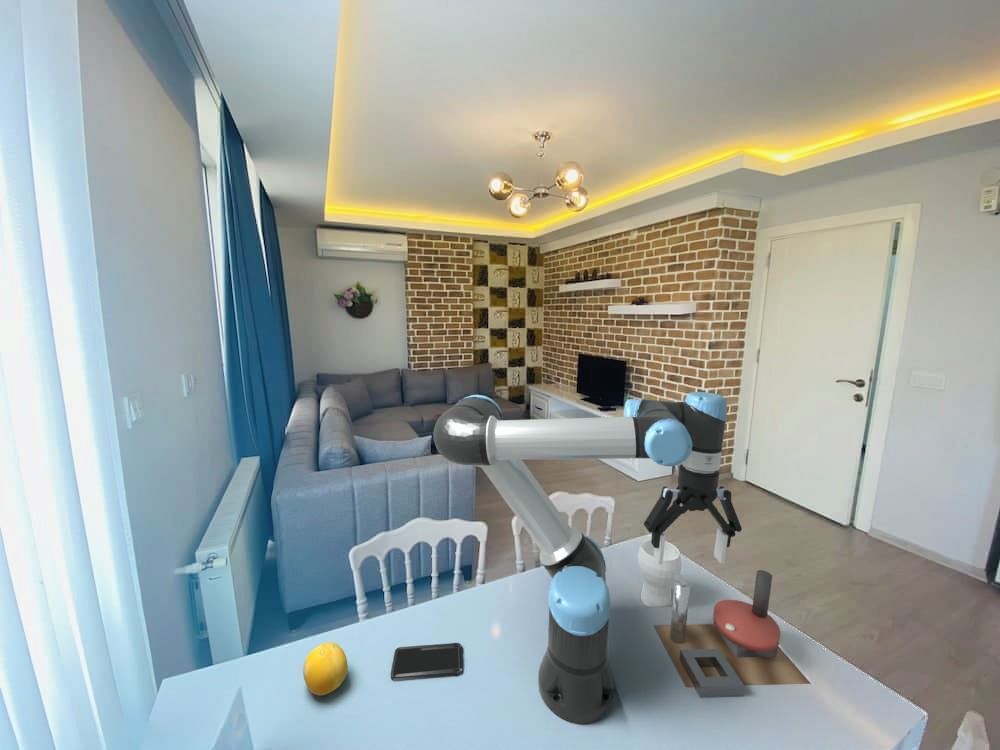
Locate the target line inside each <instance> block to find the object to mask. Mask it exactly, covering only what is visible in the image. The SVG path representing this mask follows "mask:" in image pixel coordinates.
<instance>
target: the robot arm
mask: <svg viewBox="0 0 1000 750" xmlns="http://www.w3.org/2000/svg"><path fill="white" fill-rule="evenodd" d="M623 408H624V409H623V416H607V417H604V416H603V417H574V418H573V417H572V418H571V417H568V418H567V417H566V418H541V419H540V418H539V419H535V418H534V419H507V420H504V417H503V413H502V410H501V408H500V406H499V404H498V403H497V402H496V401H495V400H493V398H490V397H488V396H487V395H481V394H471V395H469V396H466V397H464V398H462V399H460V400H458V401H457V402H456V403H455V404H454V405H453V406H451V407H450V408H449V409H447V410H445V411H444V412H443V413H442V414H441V415H440V416H439V417H438V418H437V420H436V423H435V425H434V427H433V435H432V436H433V442H434V445H435V447H436V450H437V452H439V454H440V455H441V456H442V457H443V458H444V459H446V460H447V461H449V462H451V463H454V464H457V465H462V466H472V467H478V468H481V469H482V470H483V472H484V473H485V474H486V477H488V479H489V480H490V481H491V483H492V484H493V486H494V487H495V489H496V490H497V491H498V492H499V494H500V495H501V497H502V499H503V500H504V501H505V502H506V504H507V505H508V506H509V508H510V510H511V511H512V513H514V515H515V516H516V518H517V519H518V521H519V522H520V523H521V525H522V526H523V528H524V529H525V530H526V532H527V533H528V535H529V536H530V537H531V539H532V540H533V541H534V543H535V544H536V546H537V547H538V549H539V550H540V555H539V561H540V563H541V564H542V565H543V567H544V569H545V570H546V571H547V573H548V575H549V576H550V577H551V582H550V587H549V589H548V590H549V591H548V594H547V595H548V599H547V600H548V632H547V633H548V635H547V648H546V651H545V653H544V655H543V657H542V660H541V662H540V665H539V669H538V679H537V681H538V683H537V684H538V692H539V694H540V696H541V699H542V701H543V702H544V704H545V705H546V707H548V709H549V710H550V711H551V712H553V714H554V715H557V716H558V717H559V718H561V719H562V720H565V721H568V722H571V723H575V724H581V725H582V724H592V723H594V722H598V721H600V720H601V719H602V718H604V717H606V715H607V714H608V713H609V712H610V710H611V709H612V705H613V702H614V693H615V691H614V690H615V687H614V686H615V685H614V679H613V676H612V671H611V668H610V666H609V663H608V658H607V656H608V653H607V652H608V636H609V617H610V612H611V602H612V601H611V597H610V591H609V587H608V585H607V580H606V579H607V578H606V576H607V575H606V571H607V568H606V560H605V557H604V554H603V552H602V549H601V547H600V546H599V545H598V543H597V542H596V541H595V540H594V539H592V538H591V537H589V536H587V535H584V533H583V532H582V531H581V529H579V528H577V527H570V525H569V524H568V522H567V521H566V519H565V517H563V515H562V514H561V512H560V511H559V510H558V509H557V507H556V505H555V504H554V502H553V501H552V500H551V499H550V497H549V496H548V494H547V493H546V491H545V490H544V489H543V488H542V486H541V485H540V483H539V481H538V480H537V479H536V477H534V476H535V475H533V474H532V472H531V471H530V469H529V467H528V466H527V465H526V463H525V462H524V460H529V461H530V460H599V459H601V460H604V459H605V460H606V459H607V460H608V459H609V460H610V459H613V460H614V459H621V460H622V459H650V460H652V461H653V462H654V463H656V464H658V465H660V466H662V467H663V466H664V467H676V466H678V475H677V483H678V484H677V487H676V489H675V488H669V487H668V486H666V485H665V486H662V488H661V492H660V493H661V494H660V497H659V498H658V500H657V501H656V503H655V504H654V506H653V508H652V509H651V511H650V513H649V514H648V516H647V517H646V519H645V520H644V522H643V526H644V527H645V528H646V530H647V531H648V532H649V533H651V539H652V540H651V543H652V545H653V546H654V558H655V559H656V561H657V562H658V564H662V563H663V554H664V544H665V541H666V535H665V534H664V532H665V531H667V529H668V528H669V527H670V526H671V525H672V524H673V523H674V522H675V521H676V520H677V519H678V518H679V517H680V516H681V515H682V514H683V515H684V514H686V513H687V511H689V512H694V511H698V512H699V511H700V512H704V511H705V510H707V511H708V512H709V513H710V515H711V516H712V517H713V519H714V520H715V521H716V523H717V524H718V525H719V526H720V528H717V529H716V536H715V542H714V543H715V545H714V549H713V550H714V553H713V557H714V558H715V559H716V560H717V561H718V562H719V563H720V564H725V562H726V554H727V548H730V546H731V539H732V538H734V537H736V532H737V533H740V532H741V531H742V530H743V527H742V526H741V523H740V520H739V517H738V515H737V513H736V510H735V507H734V503H732V492H731V491H730V490H729V489H727V488H726V487H725V486H723V485H721V486H719V481H720V472H719V470H720V469H721V461H722V455H723V453H722V452H723V444H724V437H725V430H726V425H727V421H728V418H727V416H728V414H727V413H728V401H727V399H726V398H725V397H723V396H722V395H720V394H717V393H712V392H708V391H705V392H704V391H691V392H689V393H687V394H686V398H685V400H684V401H669V400H668V401H667V400H655V399H646V398H630V399H627V400H626V401H625V404H624V406H623ZM718 487H719V488H718ZM675 497H676V498H675ZM717 498H718V499H719V501H720V505H721V506H722V509H723V512H724V514H725V516H726V519H727V521H726V520H725V518H724V517H723V516H722V514H721V513H720V511H719V510H718V509H717V507H716V506H715V504H714V501H715V500H716V499H717ZM671 503H672V504H671Z"/></svg>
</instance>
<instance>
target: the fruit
mask: <svg viewBox="0 0 1000 750" xmlns="http://www.w3.org/2000/svg"><path fill="white" fill-rule="evenodd" d="M348 666H349V665H348V659H347V656H346V653H345V651H344V650H343V648H342V647H341V646H340V645H339V644H338V643H336V642H330V641H329V642H324V643H322V644H320V645H318V646H316V647H315V648H313V649H312V650H311V651H310V652H308V655H307V656H306V658H305V660H304V663H303V668H302V670H303V671H302V675H303V680H304V683H305V685H306V687H307V688H308V690H309V691H310V692H311V693H312V694H314V695H317V696H325V695H328V694H330V693H331V692H333V691H335V690H337V689H338V688H340V686H341V685H342V683H343V682H344V680H345V678H346V676H347V673H348Z"/></svg>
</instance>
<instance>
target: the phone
mask: <svg viewBox="0 0 1000 750" xmlns="http://www.w3.org/2000/svg"><path fill="white" fill-rule="evenodd" d="M393 653H394V654H393V659H392V665H391V668H390V669H391V670H390V679H391V681H393V682H401V681H414V680H425V679H426V680H427V679H436V678H450V677H459V676H460V675H462V673H463V645H462V643H460V642H452V643H451V642H450V643H435V644H426V645H425V644H424V645H410V646H409V645H408V646H399V647H397V648H396V649H394V652H393Z"/></svg>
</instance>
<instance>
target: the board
mask: <svg viewBox="0 0 1000 750" xmlns="http://www.w3.org/2000/svg"><path fill="white" fill-rule="evenodd" d="M653 627H654V630H655V631H656V633H657V635H658V638H659V639H660V641H661V643H662V645H663V647H664V649H665V650H666V652H667V654H668V657H669V658H670V660H671V662H672V664H673V665H674V667H675V670H676V671H677V673H678V675H679V677H680V678H681V679H680V680H682V683H683V684H684V686H685V688H695V687H694V686H693V684H692V682H691V680H690V678H689V676H688V675H687V673H686V671H685V669H684V667H683V666H682V664H681V662H680V660H679V658H680V650H689V649H720V651H721V652H722V654H723V655H724V657H725V658H726V659H727V661H728V662H729V664H730V665H731V667H732V668H733V670H734V671H735V673H736V674H737V676H738V677H739V678H740V680H741V681H742V683H743V684H744V686H775V685H776V686H777V685H778V686H779V685H809V684H810V685H811V682H810V681H809V680H808V678H807V677H806V676H805V674H804V673H803V672H802V671H801V670H800V669H799V668H798V667H797V665H795V663H794V662H793V661H792V660H791V659H790V657H789V656H788V655H787V653H785V651H784V650H783V649H782V648H781V647H780V646H779V645H778V646H777V648H775V649H774V650H771V651H766V652H761V651H754V650H750V649H747V648H744V647H742V646H739V645H737V644H735V643H734V642H732V641H730V640H729V639H728V638H726V637H725V636H724V635H723V634H722V633H721V632H720V631H719V630H718V629H717V627H716V626H715V624H714V623H701V624H700V623H698V624H697V623H696V624H694V623H693V624H686V635H685V642H684V643H683V644H677V643H675V642H673V641H672V640H671V639H670V628H671V624H662V625H661V624H655V625H654V624H653ZM700 668H701V670H702V672H703V673H704V675H705V677H720V675H719V674H718V672H717V671H716V669H715V668H714V667H700Z"/></svg>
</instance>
